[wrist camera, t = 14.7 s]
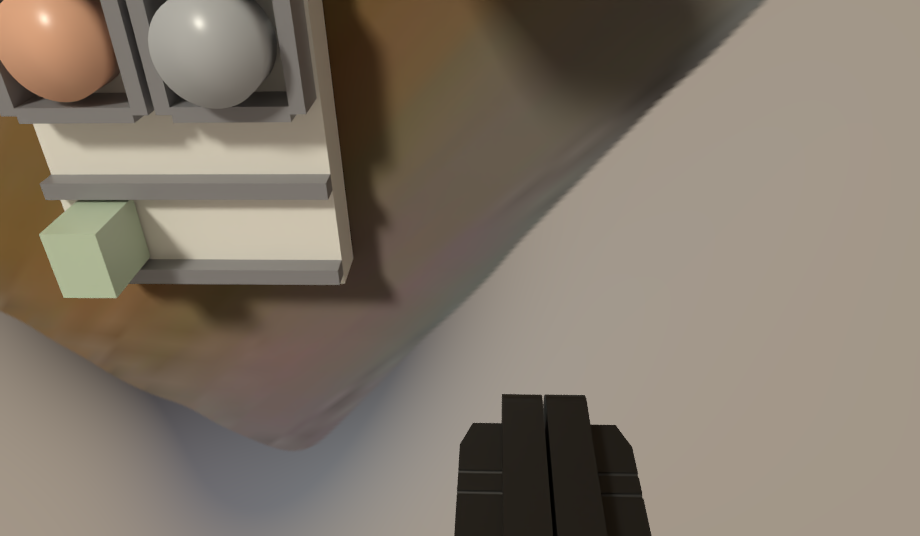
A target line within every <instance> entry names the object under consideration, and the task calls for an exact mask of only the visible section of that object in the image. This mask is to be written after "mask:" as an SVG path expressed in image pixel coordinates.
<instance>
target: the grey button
mask: <svg viewBox="0 0 920 536" xmlns="http://www.w3.org/2000/svg"><path fill="white" fill-rule="evenodd" d="M148 46H149V51H150V56H151V59H152V62H153V64H154V66H155V68H156V70H157V72H158V74H159V75H160V77H161V78H162V79H163V81H164V82H165V83H166V84H167V85H168V87H169V88H170V89H172V90H173V91H174V92H175V93H176V94H177V95H179V96H180V97H182V98H183V99H185V100H187V101H189V102H191V103H193V104H195V105H198V106H201V107H206V108H212V109H222V108H228V107H232V106H235V105H238V104H240V103H241V102H243V101H245V100H246V99H247V98H248V97H249V96H250V95H251V94H252V93H253V92H254V91H255V90H256V89H257V88H258V87H259V86H260V85H261V84H262V82H263V81H264V80H265V79H266V78H267V77H268V76H269V74H270V73H271V71H272V69H273V67H274V64H275V61H276V55H277V41H276V35H275V31H274V28H273V26H272V23H271V21H270V19H269V17H268V16H267V14H266V13H265V11H264V10H263V9H262V7H261V6H260V5H259V4H258V3H257V2H256V1H255V0H168V1H166V2H165V3H164V4H163V5H162V6H160V8H159V9H158V10H157V11H156V13H155V15H154V16H153V18H152V21H151V23H150V27H149V33H148Z"/></svg>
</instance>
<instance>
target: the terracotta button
mask: <svg viewBox="0 0 920 536" xmlns="http://www.w3.org/2000/svg"><path fill="white" fill-rule="evenodd" d="M0 60H1V62H2V63H3V65H4V66H5V68H6V69H7V71H8V72H9V73H10V74H11V75H12V76H13V77H14V78H15V79H16V80H17V81H18V82H19V83H20V84H21V85H22V86H24V87H25V88H26V89H28V90H29V91H31V92H33V93H34V94H36V95H38V96H41V97H43V98H45V99H49V100H52V101H57V102H74V101H79V100H81V99H84V98H86V97H87V96H89V95H91V94H92V93H94V92H95V91H97V90H98V89H100V88H101V87H103V86H104V85H106V84H108V83H109V82H111V81H112V80H113V79H115V78H116V77H117V76H118V75H119V73H120V69H119V66H118V62H117V59H116V55H115V52H114V48H113V45H112V41H111V37H110V34H109V30H108V27H107V23H106V20H105V16H104V13H103V9H102V5H101V2H100V0H3V1H2V2H1V3H0Z"/></svg>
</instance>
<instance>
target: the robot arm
mask: <svg viewBox="0 0 920 536" xmlns="http://www.w3.org/2000/svg"><path fill="white" fill-rule="evenodd" d="M455 536H651V532H650V527H649V523H648V518H647V513H646V509H645V504H644V500H643V499H642V491H641V486H640V481H639V478H638V472H637V468H636V463H635V458H634V454H633V449H632V446H631V445H630V444H629V443H628V441H627V440H626V439H625V438H624V436H623V435H622V433H621V432H620V431H619V429H618V428H617V427H616V425H590V420H589V413H588V407H587V401H586V397H585V395H545V396H544V404H543V401H542V395H519V394H518V395H516V394H502V423H501V424H500V423H473V424H472V425H471V427H470V429H469V431H468V432H467V434H466V435H465V437H464V439H463V440H462V442H461V444H460V454H459V472H458V486H457V502H456V518H455Z"/></svg>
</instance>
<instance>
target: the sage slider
mask: <svg viewBox="0 0 920 536" xmlns="http://www.w3.org/2000/svg"><path fill="white" fill-rule="evenodd" d="M39 236H40V238H41V241H42V243H43V246H44V248H45V251H46V254H47V256H48V259H49V261H50V264H51V266H52V269H53V271H54V274H55V277H56V279H57V282H58V284H59V287H60V289H61V292H62V294H63V297H64V298H117V297H118V296H119V295H120V294H121V292H122V291H123V290H124V289H125V287H126V286H127V285H128V284H129V283H130V281H131V280H132V279H133V278H134V276H135V275H136V274H137V273H138V271H139V270H140V269H141V268H142V266H143V265H144V264H145V263H146V262H147V260H148V259H149V258H150V253H149V250H148V247H147V243H146V240H145V237H144V233H143V230H142V227H141V223H140V220H139V217H138V213H137V210H136V207H135V203H134V200H77V201H76V202H75V203H74V204H73V205H72V206H70V207H69V208H68V209H67V210H66V211H65V212H64V213H63V214H61V215H60V216H59V217H58V218H57V219H56V220H55V221H54V222H52V223H51V224H50V225H49V226H48V227H47V228H46V229H44V230H43V231H42V232H41V233H40V234H39Z"/></svg>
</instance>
